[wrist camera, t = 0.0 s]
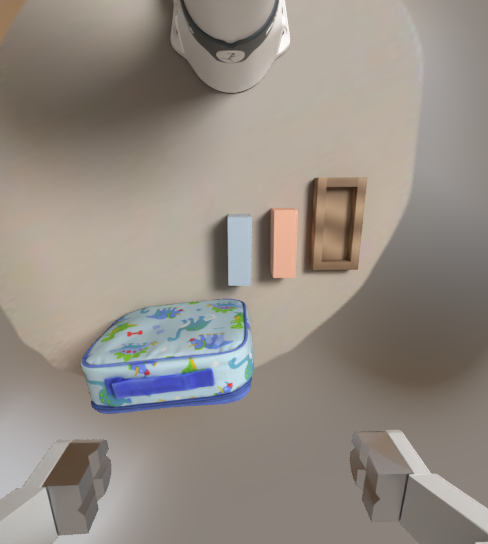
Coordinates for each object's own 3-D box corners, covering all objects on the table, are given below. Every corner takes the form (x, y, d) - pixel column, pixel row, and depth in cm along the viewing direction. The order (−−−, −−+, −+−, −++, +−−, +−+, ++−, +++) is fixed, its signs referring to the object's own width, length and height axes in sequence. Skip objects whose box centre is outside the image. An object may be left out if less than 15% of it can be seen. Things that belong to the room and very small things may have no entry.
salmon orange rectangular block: (270, 208, 55) (274, 210, 50) (292, 208, 55) (297, 209, 50) (270, 270, 58) (273, 278, 54) (290, 270, 59) (295, 277, 54)
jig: (314, 178, 54) (318, 177, 51) (360, 178, 54) (367, 177, 51) (309, 266, 58) (312, 270, 56) (352, 266, 58) (357, 269, 56)
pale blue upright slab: (228, 214, 55) (227, 217, 49) (249, 214, 55) (251, 217, 50) (229, 276, 58) (228, 285, 53) (249, 275, 59) (251, 285, 53)
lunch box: (128, 354, 62) (78, 434, 42) (116, 307, 59) (56, 368, 39) (252, 339, 62) (261, 412, 42) (246, 291, 59) (252, 344, 39)
